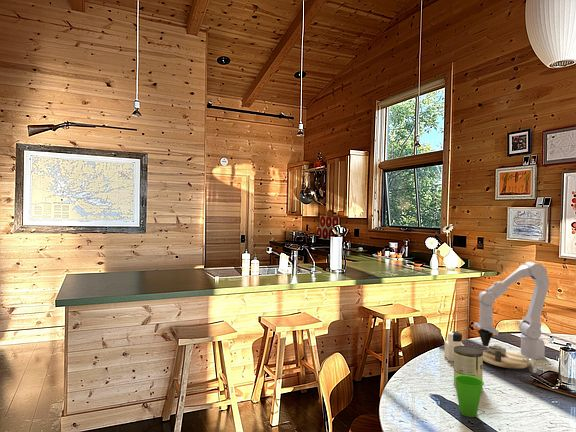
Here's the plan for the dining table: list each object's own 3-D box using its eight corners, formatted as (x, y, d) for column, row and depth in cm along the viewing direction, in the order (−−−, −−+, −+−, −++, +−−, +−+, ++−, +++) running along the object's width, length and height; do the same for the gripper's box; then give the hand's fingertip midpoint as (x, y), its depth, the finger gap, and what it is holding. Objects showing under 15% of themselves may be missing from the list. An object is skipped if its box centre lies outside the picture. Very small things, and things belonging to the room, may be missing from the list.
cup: (448, 407, 139) (449, 374, 139) (474, 406, 140) (474, 374, 140) (462, 420, 130) (462, 385, 130) (489, 419, 131) (489, 385, 131)
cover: (492, 349, 192) (492, 343, 192) (508, 353, 187) (508, 346, 187) (486, 353, 187) (486, 346, 187) (502, 357, 182) (502, 349, 182)
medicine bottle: (460, 356, 190) (460, 330, 190) (465, 361, 183) (465, 335, 183) (444, 355, 191) (444, 330, 191) (448, 361, 184) (449, 334, 184)
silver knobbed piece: (524, 366, 178) (524, 354, 178) (538, 373, 171) (538, 359, 171) (518, 367, 178) (519, 354, 178) (532, 373, 170) (532, 360, 170)
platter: (489, 349, 197) (489, 338, 197) (536, 360, 182) (536, 348, 182) (472, 359, 183) (472, 347, 183) (522, 372, 169) (522, 358, 169)
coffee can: (452, 379, 163) (453, 344, 163) (480, 383, 160) (481, 347, 160) (453, 389, 154) (454, 352, 154) (484, 394, 150) (484, 355, 150)
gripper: (468, 313, 201) (468, 341, 201) (489, 321, 187) (488, 351, 187) (481, 313, 202) (480, 340, 203) (502, 320, 188) (502, 350, 188)
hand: (485, 345), depth 195 cm, fingers closed
